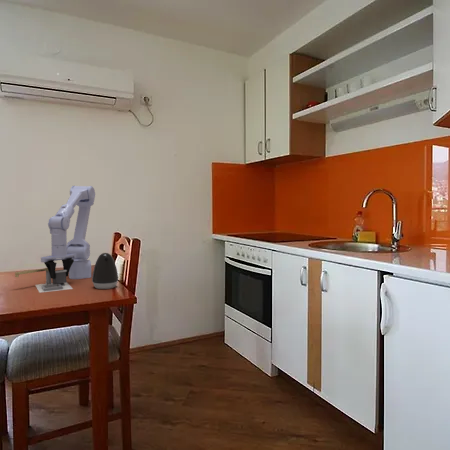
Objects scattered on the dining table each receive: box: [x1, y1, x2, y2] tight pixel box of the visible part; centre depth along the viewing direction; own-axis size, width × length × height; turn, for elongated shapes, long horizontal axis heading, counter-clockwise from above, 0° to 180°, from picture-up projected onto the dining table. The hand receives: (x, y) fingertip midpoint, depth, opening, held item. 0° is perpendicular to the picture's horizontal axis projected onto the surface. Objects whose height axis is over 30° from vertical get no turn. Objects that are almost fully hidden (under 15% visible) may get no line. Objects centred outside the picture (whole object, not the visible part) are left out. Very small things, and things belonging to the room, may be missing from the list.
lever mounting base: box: [35, 270, 74, 294], centre depth 144 cm, size 12×15×7 cm
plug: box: [51, 269, 68, 284], centre depth 147 cm, size 5×5×6 cm
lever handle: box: [14, 267, 48, 278], centre depth 144 cm, size 3×14×2 cm, turn 145°
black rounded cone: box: [91, 252, 119, 290], centre depth 145 cm, size 10×10×15 cm
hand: (59, 277), depth 147 cm, fingers open, 5 cm apart
